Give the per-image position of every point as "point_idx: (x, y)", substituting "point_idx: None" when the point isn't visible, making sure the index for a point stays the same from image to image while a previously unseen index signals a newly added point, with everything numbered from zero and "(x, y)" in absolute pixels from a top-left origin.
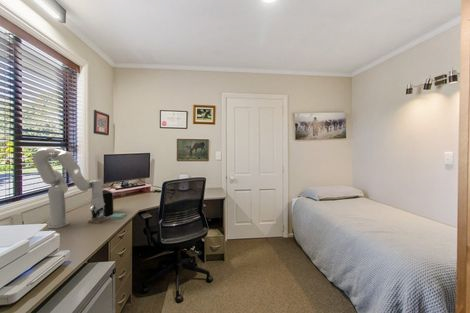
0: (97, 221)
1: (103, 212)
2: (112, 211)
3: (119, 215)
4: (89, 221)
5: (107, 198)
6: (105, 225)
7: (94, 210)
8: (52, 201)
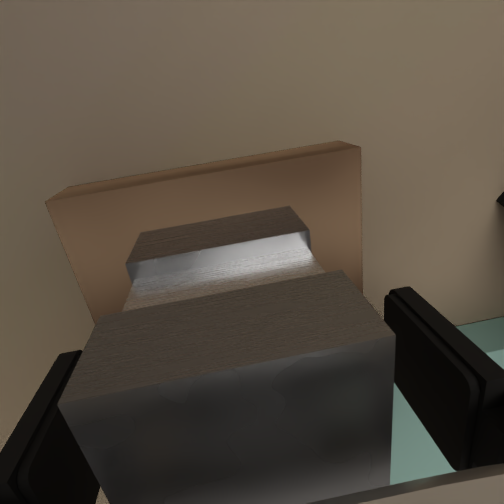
0: None
1: (405, 395)
2: None
3: (443, 465)
4: (66, 237)
5: None
6: (102, 495)
7: (206, 433)
8: None
